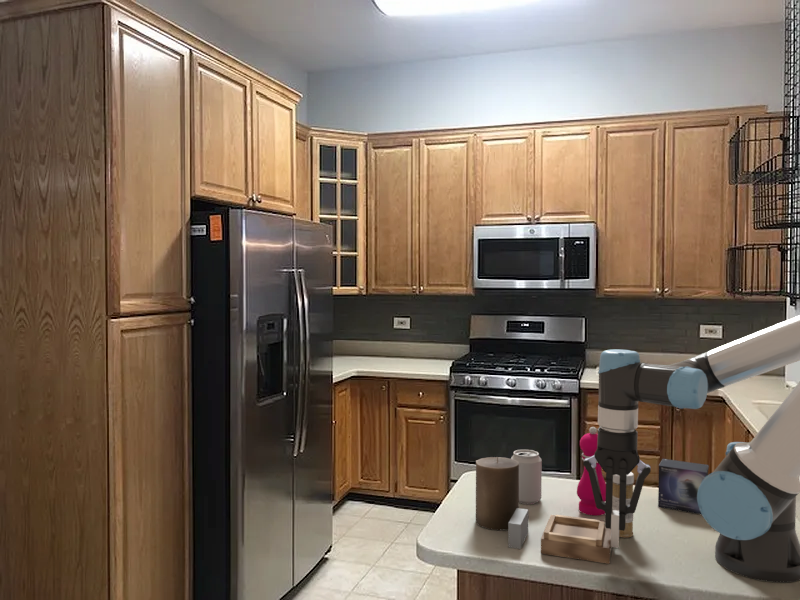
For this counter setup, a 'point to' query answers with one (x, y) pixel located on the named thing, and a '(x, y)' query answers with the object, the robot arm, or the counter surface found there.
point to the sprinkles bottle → (615, 502)
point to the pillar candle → (496, 492)
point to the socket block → (577, 539)
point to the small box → (680, 485)
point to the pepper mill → (584, 485)
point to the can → (529, 475)
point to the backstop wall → (518, 528)
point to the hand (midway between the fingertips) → (614, 544)
